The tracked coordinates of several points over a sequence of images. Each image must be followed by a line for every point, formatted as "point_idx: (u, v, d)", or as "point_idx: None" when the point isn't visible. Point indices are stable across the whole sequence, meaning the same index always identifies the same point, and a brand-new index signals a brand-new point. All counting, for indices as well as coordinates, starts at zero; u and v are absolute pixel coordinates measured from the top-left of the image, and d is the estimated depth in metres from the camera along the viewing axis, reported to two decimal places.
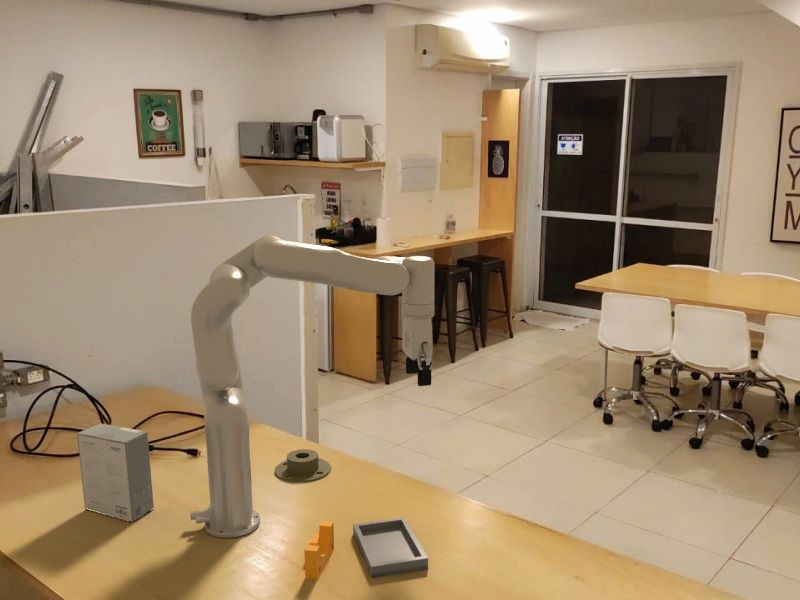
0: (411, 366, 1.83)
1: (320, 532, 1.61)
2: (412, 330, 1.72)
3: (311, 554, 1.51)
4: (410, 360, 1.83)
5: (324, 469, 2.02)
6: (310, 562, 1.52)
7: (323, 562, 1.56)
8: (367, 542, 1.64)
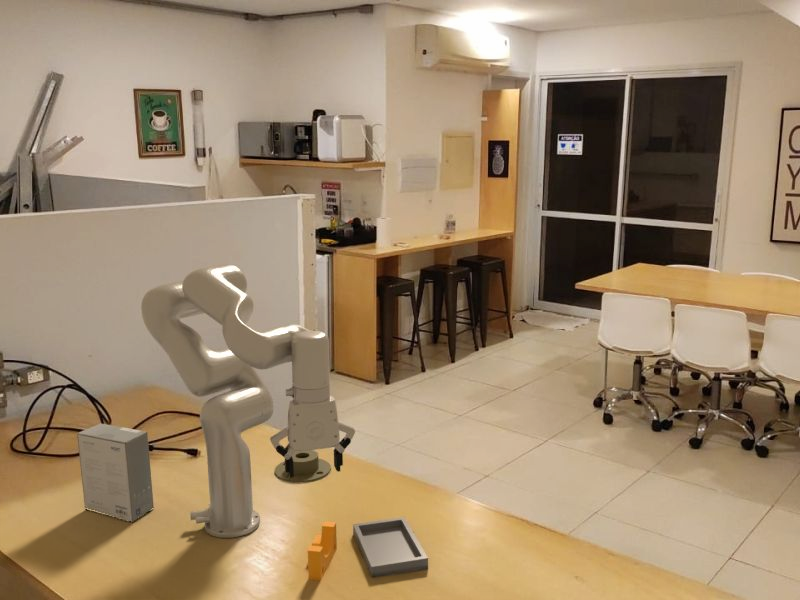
0: None
1: (323, 533, 1.61)
2: (333, 413, 1.50)
3: (314, 554, 1.51)
4: (292, 460, 1.52)
5: (324, 469, 2.02)
6: (313, 563, 1.51)
7: (326, 563, 1.56)
8: (367, 542, 1.64)
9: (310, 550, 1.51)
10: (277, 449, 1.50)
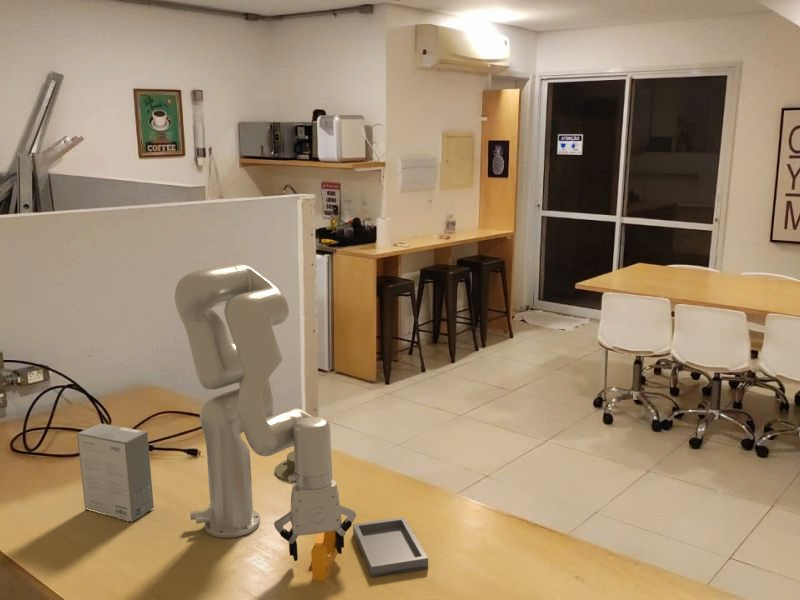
0: None
1: (325, 532, 1.61)
2: (334, 498, 1.54)
3: (318, 554, 1.51)
4: (296, 543, 1.55)
5: None
6: (317, 562, 1.51)
7: (329, 562, 1.55)
8: (367, 542, 1.64)
9: (314, 550, 1.51)
10: (281, 534, 1.54)
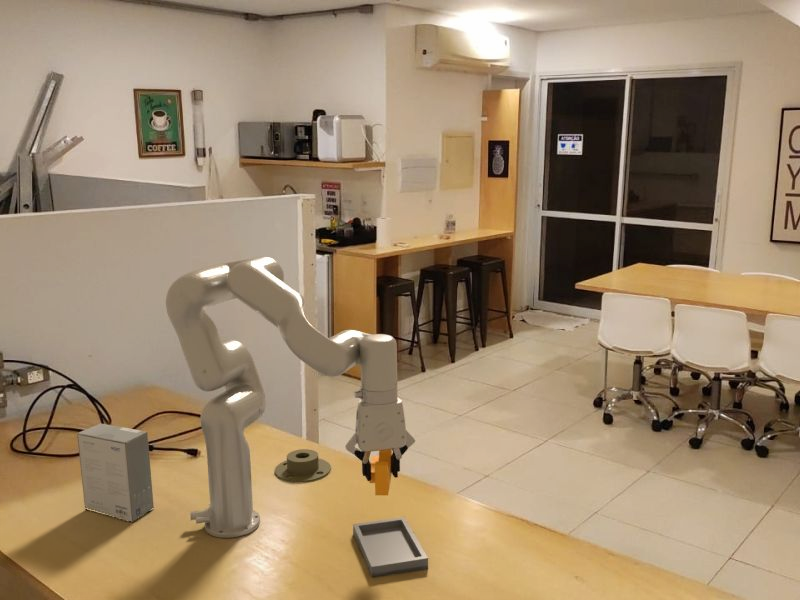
0: None
1: (380, 452, 1.61)
2: (400, 415, 1.54)
3: (381, 469, 1.51)
4: None
5: (324, 469, 2.02)
6: (380, 477, 1.52)
7: (389, 479, 1.56)
8: (367, 542, 1.64)
9: (377, 465, 1.51)
10: (355, 453, 1.55)
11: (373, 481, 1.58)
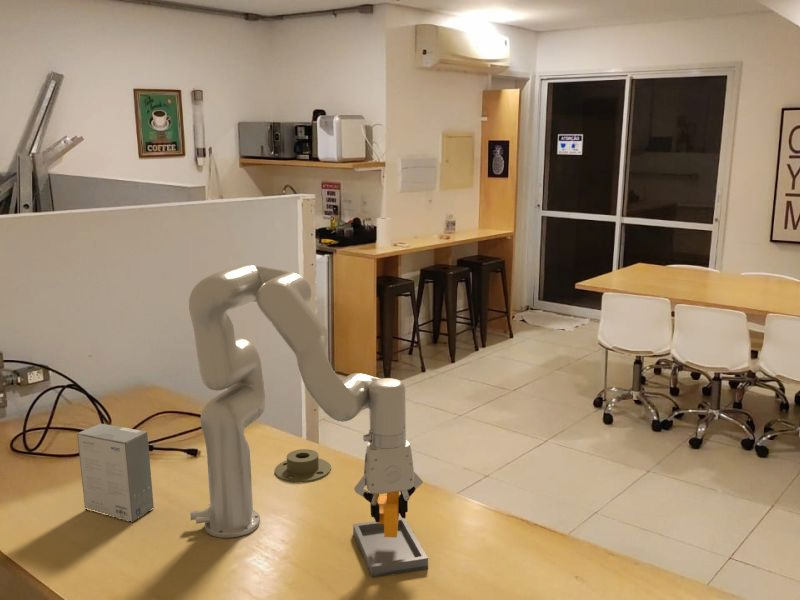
0: None
1: (388, 493, 1.63)
2: (408, 458, 1.57)
3: (390, 512, 1.54)
4: None
5: (324, 469, 2.02)
6: (389, 520, 1.54)
7: None
8: (367, 542, 1.64)
9: (386, 508, 1.54)
10: (364, 495, 1.57)
11: (381, 522, 1.60)
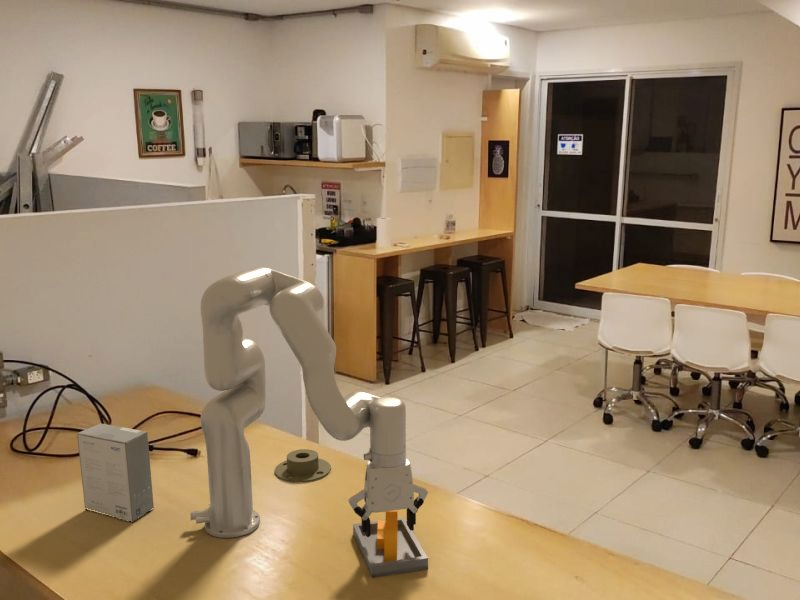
0: None
1: (386, 518, 1.65)
2: (408, 477, 1.57)
3: (391, 538, 1.55)
4: None
5: (324, 469, 2.02)
6: (390, 546, 1.56)
7: None
8: (367, 542, 1.64)
9: (386, 534, 1.55)
10: (355, 510, 1.58)
11: (381, 547, 1.62)
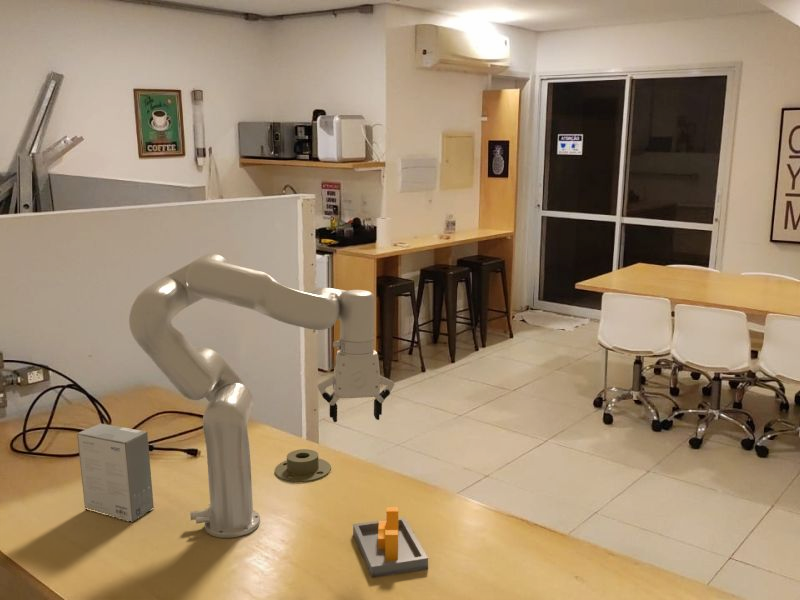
0: None
1: (387, 518, 1.65)
2: (375, 366, 1.66)
3: (392, 538, 1.55)
4: None
5: (324, 469, 2.02)
6: (391, 546, 1.56)
7: None
8: (367, 542, 1.64)
9: (387, 534, 1.55)
10: (323, 395, 1.66)
11: (381, 547, 1.62)
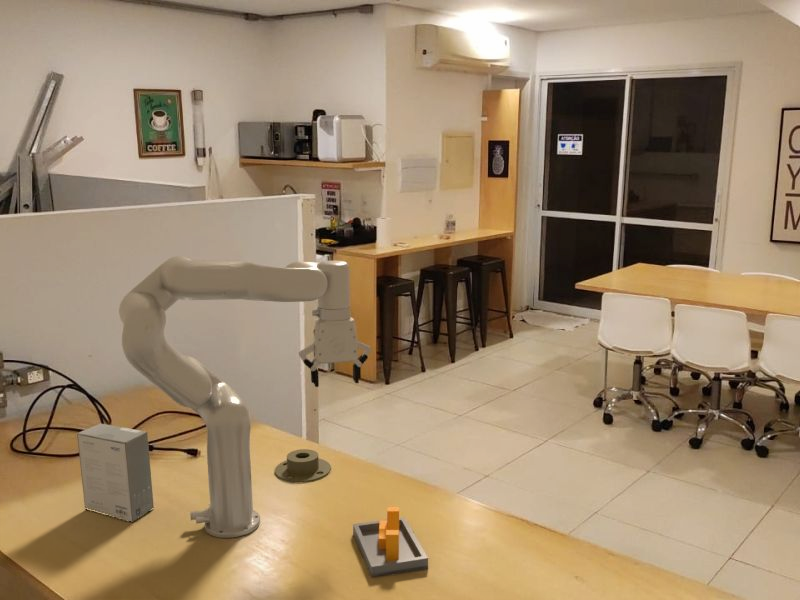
0: None
1: (388, 518, 1.65)
2: (352, 331, 1.75)
3: (393, 538, 1.55)
4: None
5: (324, 469, 2.02)
6: (391, 546, 1.56)
7: None
8: (367, 542, 1.64)
9: (388, 534, 1.55)
10: (305, 362, 1.75)
11: (382, 547, 1.62)
